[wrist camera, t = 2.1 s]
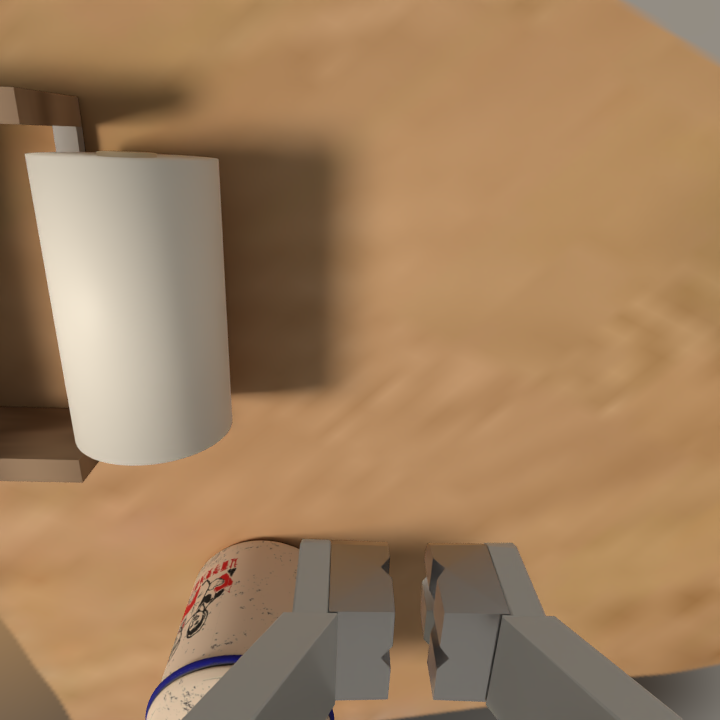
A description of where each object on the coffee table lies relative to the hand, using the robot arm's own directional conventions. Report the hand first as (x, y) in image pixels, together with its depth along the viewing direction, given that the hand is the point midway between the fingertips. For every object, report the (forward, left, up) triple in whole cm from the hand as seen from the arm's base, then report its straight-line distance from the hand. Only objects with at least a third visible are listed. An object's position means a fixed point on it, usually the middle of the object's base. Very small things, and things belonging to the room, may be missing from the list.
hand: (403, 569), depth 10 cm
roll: (+10, 0, -16) cm, 19 cm away
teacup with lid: (+6, +21, -19) cm, 29 cm away
